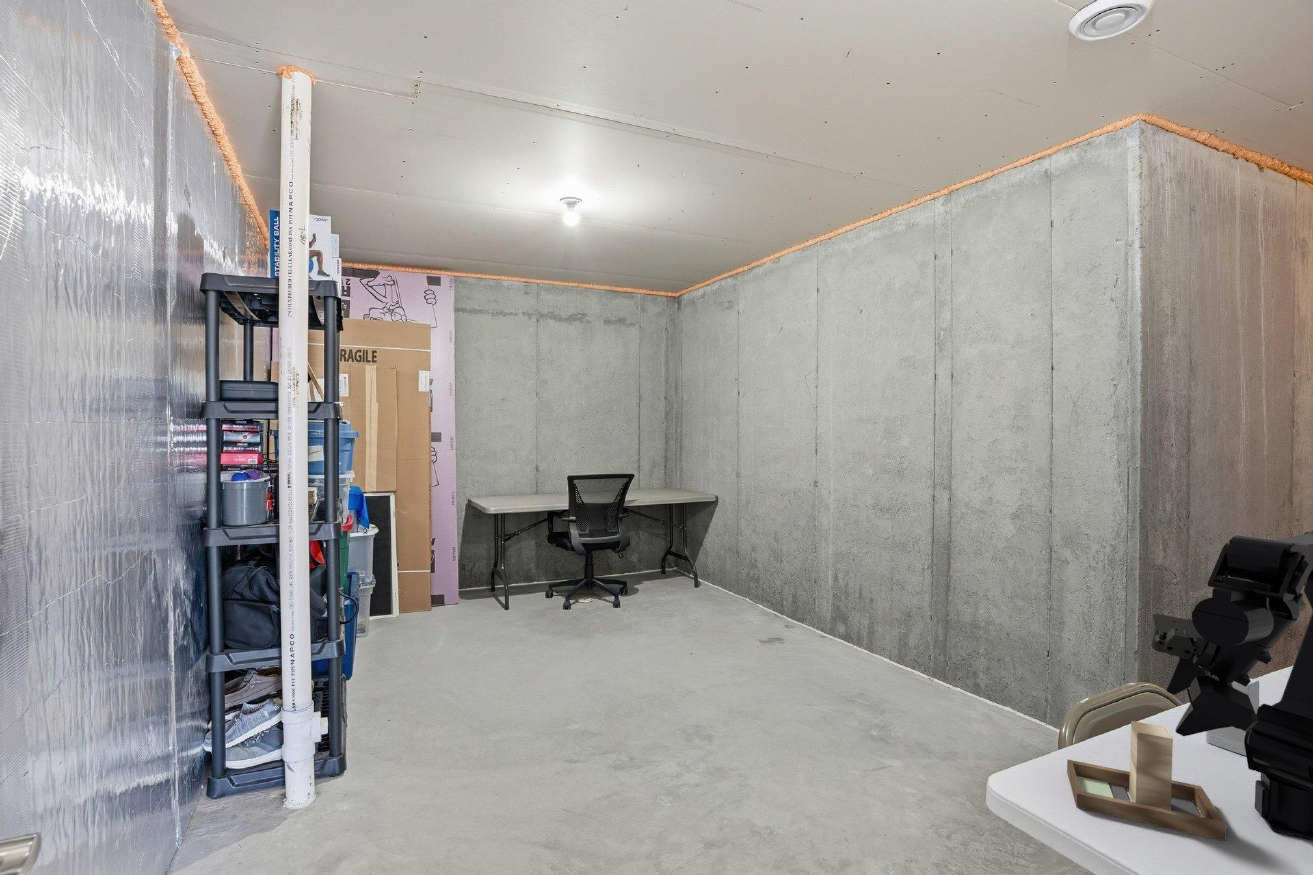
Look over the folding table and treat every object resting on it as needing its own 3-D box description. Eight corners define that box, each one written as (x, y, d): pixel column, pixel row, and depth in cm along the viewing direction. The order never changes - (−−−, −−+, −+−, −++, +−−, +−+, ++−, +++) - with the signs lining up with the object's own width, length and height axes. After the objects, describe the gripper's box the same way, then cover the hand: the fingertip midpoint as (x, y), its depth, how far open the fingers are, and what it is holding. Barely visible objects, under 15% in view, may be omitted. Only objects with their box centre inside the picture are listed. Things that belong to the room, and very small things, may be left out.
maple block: (1162, 802, 94) (1165, 726, 94) (1170, 817, 91) (1172, 738, 90) (1129, 794, 96) (1131, 720, 96) (1135, 809, 92) (1137, 732, 92)
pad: (1107, 784, 99) (1107, 782, 99) (1118, 812, 92) (1118, 809, 92) (1074, 777, 101) (1074, 775, 101) (1081, 803, 94) (1081, 801, 94)
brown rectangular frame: (1200, 799, 95) (1201, 785, 95) (1225, 840, 86) (1226, 825, 85) (1067, 771, 102) (1067, 759, 102) (1076, 807, 93) (1076, 793, 93)
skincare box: (1260, 752, 109) (1262, 680, 109) (1248, 758, 107) (1251, 685, 107) (1214, 736, 114) (1216, 667, 114) (1202, 742, 112) (1205, 672, 112)
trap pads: (1191, 801, 94) (1191, 799, 94) (1208, 832, 87) (1208, 830, 87) (1110, 784, 99) (1110, 782, 99) (1120, 812, 92) (1120, 810, 92)
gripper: (1167, 567, 95) (1108, 645, 102) (1188, 635, 80) (1116, 721, 87) (1256, 607, 91) (1188, 685, 98) (1296, 687, 76) (1212, 772, 83)
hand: (1174, 712), depth 92 cm, fingers open, 9 cm apart
